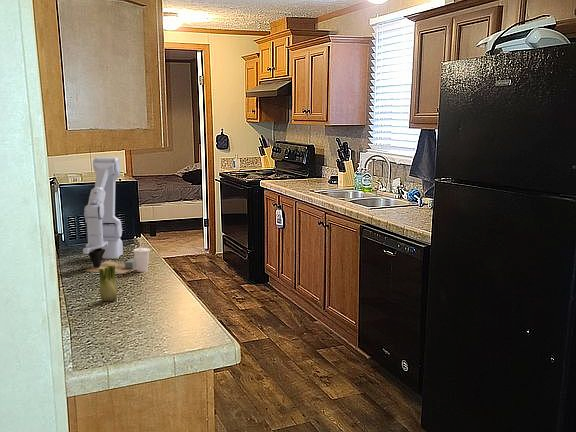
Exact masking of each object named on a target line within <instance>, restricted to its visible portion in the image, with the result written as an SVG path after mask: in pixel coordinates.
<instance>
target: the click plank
mask: <svg viewBox="0 0 576 432" xmlns="http://www.w3.org/2000/svg"><path fill="white" fill-rule="evenodd" d="M125 262H126V261H116V260H106V261H104V262H101V265H100V267H99V268H94V266H93V267H90V268H88V269H86V270H85V272H93V273H95V272H96V273H100V272H99V269H100V268H103V271H105V267H107V265H110V266H111V265H115V267H117V266H119V265H121V264H123V263H125Z"/></svg>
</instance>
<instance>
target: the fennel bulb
mask: <svg viewBox="0 0 576 432" xmlns="http://www.w3.org/2000/svg"><path fill="white" fill-rule="evenodd" d="M98 273H99V296H100V299H101V301H102V302H113V301H115V300H117V299H118V284H117V281H116V273H115V265H111V266H110V265H107V267H105V271H103V268H100V269H99V272H98Z"/></svg>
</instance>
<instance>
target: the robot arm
mask: <svg viewBox="0 0 576 432" xmlns="http://www.w3.org/2000/svg"><path fill="white" fill-rule="evenodd" d="M92 167H93V171H94V173H95V182H94V187H93V188H92V189H90V193H89V197H88V203H87V205H85V206H84V209H83V215H84V219H85V224H86V228H87V229H86V230H87V244H85V247H84V248H82V253H83V255H84V254H85V255H88V257H89V258H90V260H91V264H92V266H93V267H94V268H99V267H100V265H101V263H102V261H103V260H102V259H109V260H111V259H116V258H119V257H120V256H122V255H123V254H124V249H123V248H124V246H123V240H122V239H121V237H122V235H123V226H122V221H121V219H119V218H118V217H117V216H116V180H117V178H120V175H121V162H120V159H119V158H118V157H117V156H116V157H97V156H95V157H94V159H93V161H92Z"/></svg>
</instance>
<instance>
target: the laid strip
mask: <svg viewBox="0 0 576 432" xmlns="http://www.w3.org/2000/svg"><path fill="white" fill-rule="evenodd" d="M134 269H137V267H136V266H135V267H134V268H133V269H130V268H125V263H123V264H120V265H118V266H116V267H115V275H116V274H118V275H123V274H125V273H127V272H130V271H132V270H134Z"/></svg>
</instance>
